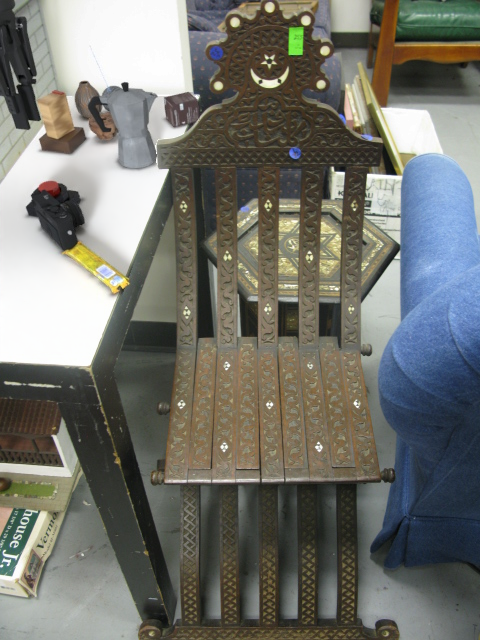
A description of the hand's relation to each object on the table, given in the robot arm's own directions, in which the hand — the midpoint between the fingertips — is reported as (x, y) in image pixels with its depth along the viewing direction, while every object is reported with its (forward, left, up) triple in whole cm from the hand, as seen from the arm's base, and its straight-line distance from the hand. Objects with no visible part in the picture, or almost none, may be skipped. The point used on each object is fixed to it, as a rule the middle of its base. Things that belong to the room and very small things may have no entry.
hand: (28, 123), depth 105 cm
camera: (+8, -8, -19) cm, 22 cm away
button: (0, 0, -15) cm, 15 cm away
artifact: (-3, +32, -19) cm, 37 cm away
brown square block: (-12, +26, -19) cm, 35 cm away
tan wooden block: (-12, +27, -15) cm, 33 cm away
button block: (0, 0, -19) cm, 19 cm away
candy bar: (+19, -18, -16) cm, 30 cm away
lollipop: (-4, +46, -8) cm, 47 cm away
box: (+15, +48, -16) cm, 53 cm away
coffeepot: (+8, +23, -19) cm, 31 cm away
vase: (-14, +43, -19) cm, 49 cm away
